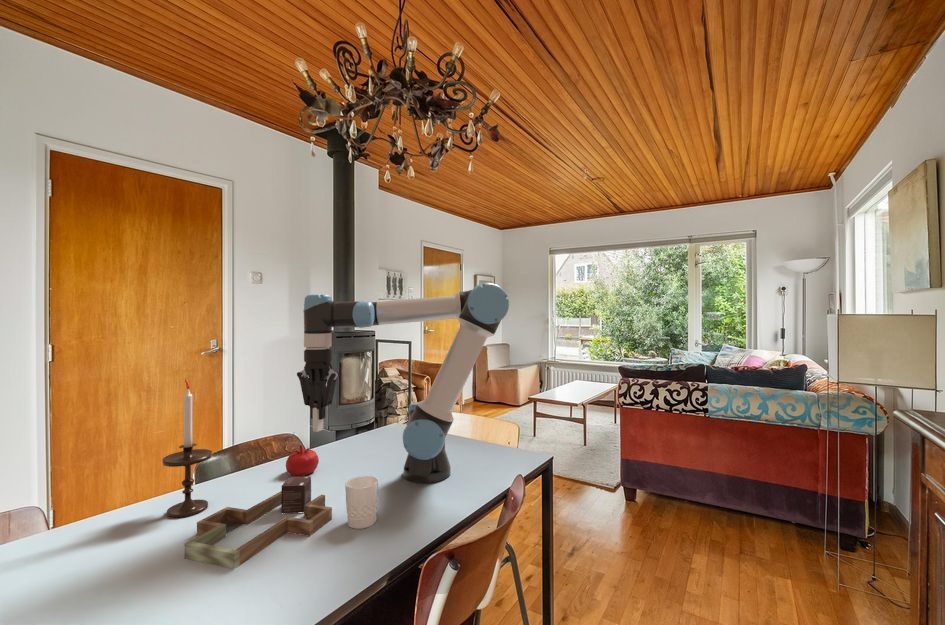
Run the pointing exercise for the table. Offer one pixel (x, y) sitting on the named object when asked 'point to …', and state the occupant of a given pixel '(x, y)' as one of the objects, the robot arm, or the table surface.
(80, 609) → the table surface
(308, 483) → the box
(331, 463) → the table surface
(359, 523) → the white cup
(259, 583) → the table surface
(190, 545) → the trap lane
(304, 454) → the pomegranate
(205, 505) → the candlestick
